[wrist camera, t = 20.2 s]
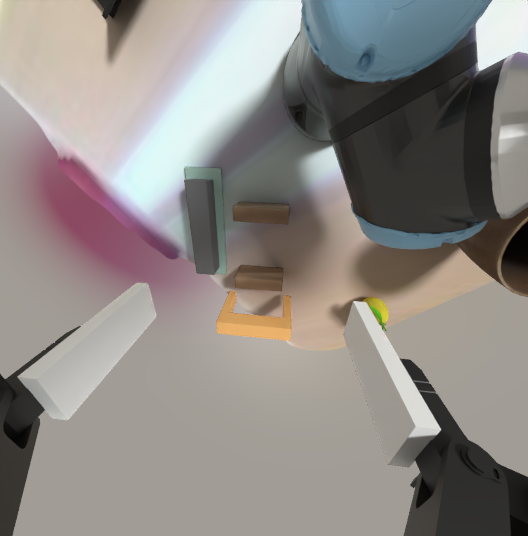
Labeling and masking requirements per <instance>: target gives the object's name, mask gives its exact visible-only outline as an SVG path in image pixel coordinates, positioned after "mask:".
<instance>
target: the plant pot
mask: <svg viewBox="0 0 528 536" xmlns="http://www.w3.org/2000/svg"><path fill="white" fill-rule="evenodd" d="M457 245H458V246H459V247H460V248H461V249H462V251H463V252H464V253H465V254H466V255H467V256H468V257H469V258H470V259H471V260H472V261H473V262H474V263H475V264H477V265H478V266H479V267H480V268H481V269H482V270H483V271H485V272H486V273H487V274H488V275H490V276H491V277H492V278H494V279H495V280H496V281H497V282H499V283H500V284H502V285H503V286H504V287H506V288H507V289H508V290H510V291H511V292H513V293H516V294H518V295H521V296H526V297H528V207H527V208H525V209H524V210H523V211H521V212H520V213H518V214H517V215H515V216H514V217H512V218H509V219H498V220H488V222H487V223H486V224H485V226H484V227H483V228H482V229H481V230H480V231H479V232H478V233H476V234H475V235H473V236H472V237H470V238H468V239H465V240H463V241H460V242H457Z"/></svg>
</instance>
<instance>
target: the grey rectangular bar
mask: <svg viewBox="0 0 528 536" xmlns="http://www.w3.org/2000/svg"><path fill="white" fill-rule="evenodd" d="M184 182H185V190H186V197H187V205H188V212H189V220H190V227H191V235H192V242H193V250H194V257H195V265H196V271H197V273H199V274H211V275H214V274H215V273H216V271H217V270H218V268H219V267H220V265H219V252H218V238H217V224H216V210H215V197H214V183H213V180H209V179H188V180H184Z"/></svg>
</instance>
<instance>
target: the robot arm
mask: <svg viewBox="0 0 528 536" xmlns="http://www.w3.org/2000/svg"><path fill="white" fill-rule="evenodd" d="M491 1H492V0H301V2H302V5H303V6H302V10H301V11H302V18H301V28H300V32H299V33H298V35H297V37H296V38H295V40H294V42H293V44H292V47H291V49H290V52H289V54H288V57H287V61H286V65H285V70H284V78H283V93H284V101H285V106H286V110H287V112H288V115H289V117H290V119H291V121H292V122H293V124H294V125H295V127H296V128H297V129H298V130H299V131H300V132H301V133H303V134H304V135H306V136H307V137H309V138H312V139H314V140H319V141H332V145H333V148H334V151H335V154H336V157H337V160H338V163H339V166H340V169H341V172H342V175H343V178H344V181H345V184H346V187H347V190H348V193H349V196H350V199H351V202H352V203H351V208H352V211H353V213H354V214H355V217H356V218H357V219H358V222H359V224H360V227H361V229H362V231H363V233H364V234H365V235H366V236H367V237H368V238H369V239H370V240H372V241H373V242H375V243H377V244H380V245H383V246H386V247H391V248H398V249H428V248H436V247H440V246H441V245H442V243H451V244H454V243H457V242H460V241H463V240H465V239H468V238H470V237H472V236H473V235H475V234H476V233H478V232H479V231H480V230H481V229H482V228H483V227H484V226H485V224H486V223H487V222H488V220H498V219H509V218H512V217H514V216H515V215H517V214H518V213H520V212H521V211H523V210H524V209H525V208H527V207H528V54H526V53H521V52H517V53H515V54H512V55H510V56H508V57H507V58H505V59H503V60H501V61H499V62H497V63H495V64H493V65H491V66H489V67H488V68H486V69H484V70H481V71H479V69H478V63H477V62H478V60H477V43H476V25H475V24H476V22H477V21H478V19H479V18H480V17H481V16H482V15H483V13H484V12H485V10H486V8H487V7H488V5H489V4H490V3H491ZM476 63H477V64H476ZM474 64H475V65H474ZM156 317H157V315H156V311H155V307H154V304H153V300H152V296H151V293H150V289H149V285H148V283H136V284H135V285H133V286H132V287H131V288H130V289H128V290H127V291H126V292H124V293H123V294H122V295H121V296H119V297H118V298H117V299H115V301H113V302H112V303H110V304H109V305H108V306H107V307H105V308H104V309H103V310H101V311H100V312H99V313H98V314H96V315H95V316H94V317H93V318H91V319H90V320H89V321H87V322H86V323H85V324H84V325H83V326H79V327H77V328H75V329H73V330H71V331H69V332H67V333H66V334H64V335H63V336H62V337H60V338H59V339H58V340H57V341H55V343H53V344H51V345H50V346H49V347H47V348H46V350H43V351H42V352H41V353H40V354H38V355H37V356H36V357H34V358H33V359H32V360H30V361H29V362H28V363H26V364H25V365H24V366H22V367H21V368H20V369H19V370H17V371H16V372H15V373H13V374H12V375H11V376H9V377H8V378H7V379H4V378H3V377H2V376H1V374H0V536H12V535H13V531H14V527H15V523H16V519H17V515H18V511H19V506H20V502H21V498H22V494H23V490H24V486H25V482H26V478H27V474H28V470H29V466H30V462H31V458H32V454H33V450H34V446H35V442H36V438H37V434H38V429H39V426H40V419H39V418H38V416H39V415H40V414H41V413H42V412H43V411H44V410H45V411H46V412H47V413H48V415H49V416H50V417H51V418H55V419H63V420H68V419H69V418H70V417H71V416H72V415H73V414H74V413H75V411H76V410H77V409H78V408H79V407H80V405H81V404H82V403H83V402H84V401H85V400H86V398H87V397H88V396H89V395H90V394H91V393H92V391H93V390H94V389H95V388H96V387H97V385H98V384H99V383H100V382H101V381H102V380H103V378H104V377H105V376H106V375H107V374H108V373H109V371H110V370H111V369H112V368H113V367H114V366H115V365H116V363H117V362H118V361H119V360H120V359H121V358H122V356H123V355H124V354H125V353H126V352H127V351H128V349H129V348H130V347H131V346H132V345H133V344H134V342H135V341H136V340H137V339H138V338H139V336H140V335H141V334H142V333H143V332H144V331H145V329H146V328H147V327H148V326H149V324H151V322H152V321H153V320H154V319H155V318H156ZM343 335H344V338H345V341H346V343H347V346H348V349H349V352H350V355H351V358H352V361H353V364H354V367H355V370H356V372H357V376H358V379H359V381H360V384H361V387H362V390H363V393H364V396H365V399H366V402H367V405H368V408H369V410H370V414H371V416H372V419H373V422H374V425H375V428H376V431H377V434H378V437H379V440H380V443H381V445H382V449H383V452H384V454H385V457H386V460H387V463H388V465H395V466H402V467H410V466H411V465H412V463H413V462H414V461H416V463H417V466H418V468H419V470H420V473H419V475H418V476H417V477H416V478H415V479H414V480H413V481H412V483H411V484H410V485H411V486H412V487H413V488H414V487H415V486H416V487H415V492H414V495H413V500H412V504H411V508H410V512H409V516H408V521H407V525H406V529H405V533H404V536H528V477H526V476H524V475H522V474H520V473H517V472H515V471H513V470H511V469H508V468H506V467H504V466H502V465H500V464H498V463H497V462H496V461H495V460H494V459H493V458H492V457H491V456H490V455H489V454H488V453H487V452H486V451H484V450H483V449H482V448H481V447H480V446H478V445H477V444H475V443H473V442H471V441H469V440H468V439H467V438H466V436H465V435H464V434H463V432H462V431H461V429H460V428H459V426H458V425H457V423H456V422H455V420H454V419H453V417H452V416H451V414H450V413H449V411H448V410H447V408H446V407H445V405H444V404H443V402H442V400H441V399H440V398H439V396H438V395H437V394H436V392H435V390H434V388H433V387H432V385H431V384H429V381H428V379H427V378H426V376H425V375H424V373H423V372H422V370H421V369H420V368H418V367H417V366H416V365H415V364H414V363H413V362H412V361H411V360H408V359H399V357H398V356H397V354H396V352H395V351H394V349H393V347H392V345H391V344H390V342H389V340H388V338H387V337H386V335H385V333H384V332H383V330H382V328H381V327H380V325H379V323H378V321H377V320H376V318H375V316H374V315H373V313H372V311H371V310H370V308H369V306H368V305H367V303H366V302H358V301H353V303H352V307H351V310H350V314H349V317H348V320H347V324H346V327H345V330H344V334H343Z"/></svg>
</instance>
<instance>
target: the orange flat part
mask: <svg viewBox="0 0 528 536" xmlns="http://www.w3.org/2000/svg"><path fill="white" fill-rule="evenodd" d="M235 304H236V291H230V292H229V294H228V297H227V299H226V301H225V303H224V306H223V308H222V310H221V313H220V315H219V317H218V319H217V322H216V325H217V333H219V334H228V335H239V336H248V337H258V338H268V339H278V340H288V341H290V337H291V301H290V296H284V300H283V318H280V317H270V316H259V315H248V314H237V313H233V310H234V307H235Z"/></svg>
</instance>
